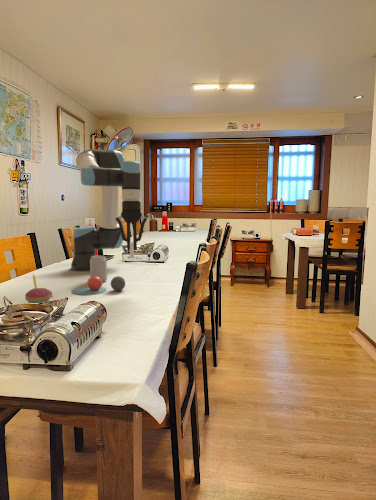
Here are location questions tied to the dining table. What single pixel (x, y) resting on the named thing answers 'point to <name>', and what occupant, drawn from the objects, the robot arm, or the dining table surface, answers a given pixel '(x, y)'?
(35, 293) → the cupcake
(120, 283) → the dark grey ball
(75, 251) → the robot arm
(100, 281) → the object ball
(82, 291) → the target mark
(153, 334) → the dining table surface
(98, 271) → the can
